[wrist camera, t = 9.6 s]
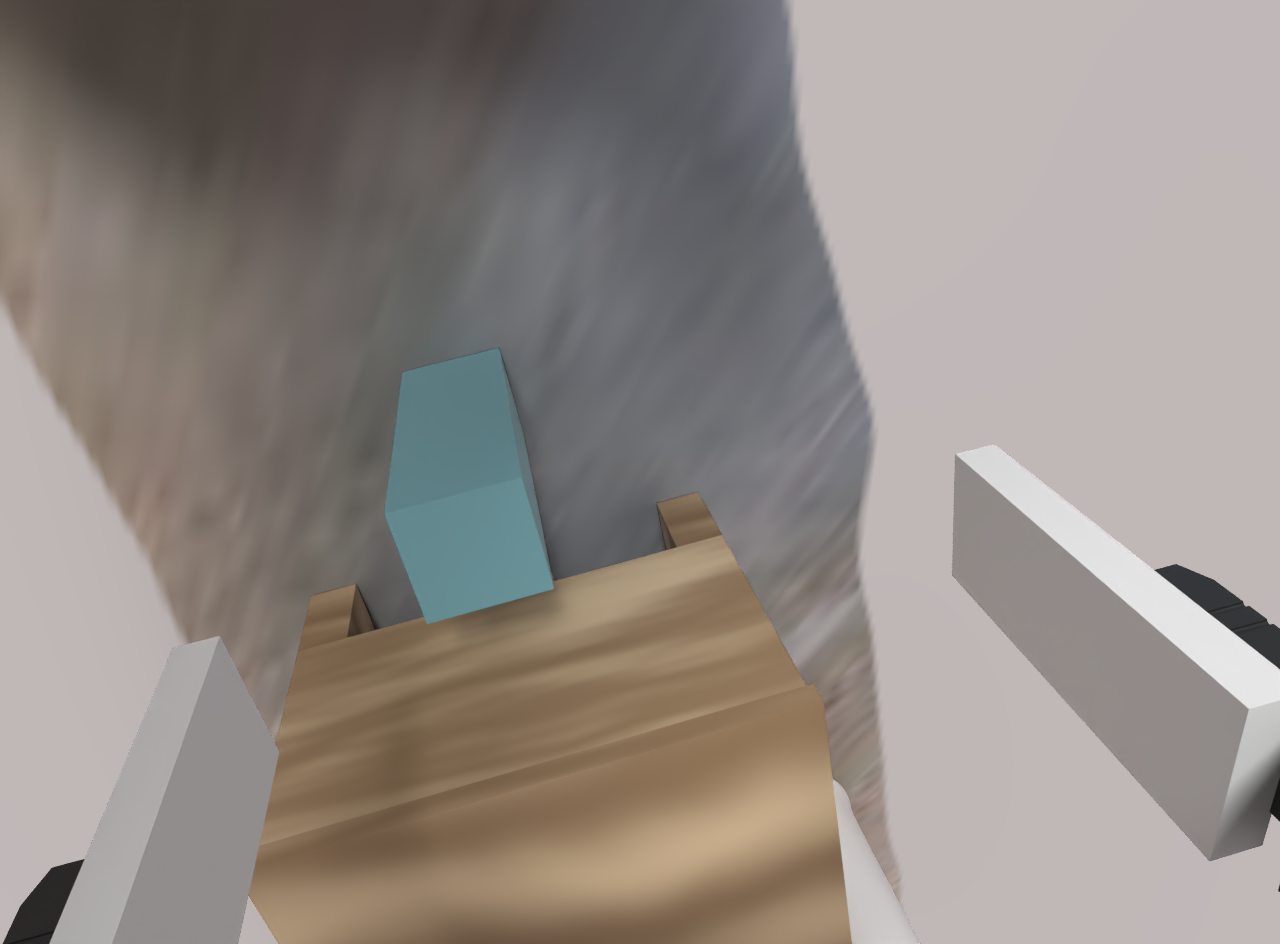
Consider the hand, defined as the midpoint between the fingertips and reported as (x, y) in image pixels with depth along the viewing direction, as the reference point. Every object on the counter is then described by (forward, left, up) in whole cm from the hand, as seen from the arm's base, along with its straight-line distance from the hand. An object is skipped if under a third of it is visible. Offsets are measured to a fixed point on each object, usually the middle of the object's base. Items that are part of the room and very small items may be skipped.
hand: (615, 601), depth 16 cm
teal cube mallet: (+15, -3, -22) cm, 27 cm away
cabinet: (+18, -3, -22) cm, 29 cm away
